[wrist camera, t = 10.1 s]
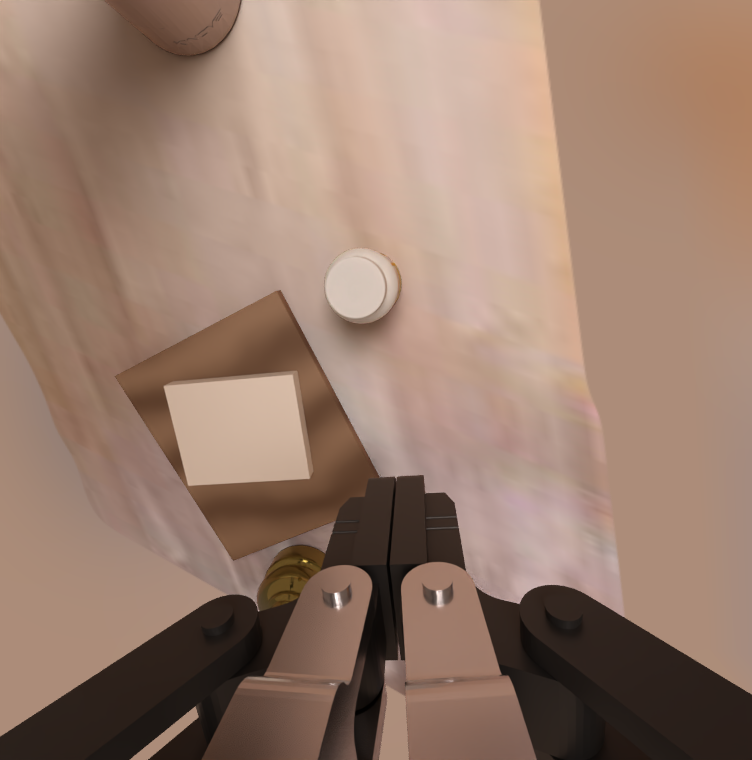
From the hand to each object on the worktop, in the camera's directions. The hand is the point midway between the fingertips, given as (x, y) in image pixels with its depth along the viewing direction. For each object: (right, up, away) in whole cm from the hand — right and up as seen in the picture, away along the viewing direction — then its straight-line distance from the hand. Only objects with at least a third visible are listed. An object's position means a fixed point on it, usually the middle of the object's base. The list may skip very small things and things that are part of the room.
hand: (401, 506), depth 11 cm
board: (-12, -2, +30) cm, 32 cm away
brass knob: (-8, -17, +34) cm, 39 cm away
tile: (-7, -1, +27) cm, 28 cm away
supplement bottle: (-1, +12, +25) cm, 28 cm away
